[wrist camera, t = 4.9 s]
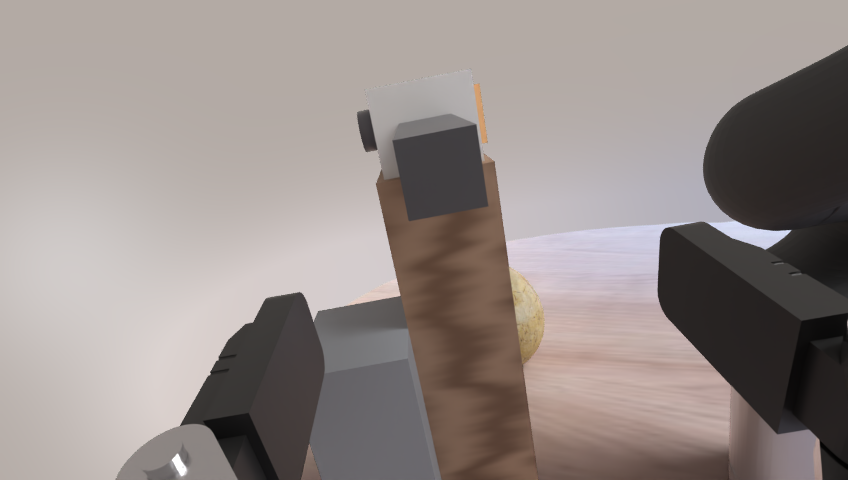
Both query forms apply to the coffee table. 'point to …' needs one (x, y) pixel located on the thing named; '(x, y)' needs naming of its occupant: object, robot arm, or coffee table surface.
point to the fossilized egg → (527, 315)
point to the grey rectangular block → (370, 398)
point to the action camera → (430, 141)
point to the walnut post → (463, 334)
